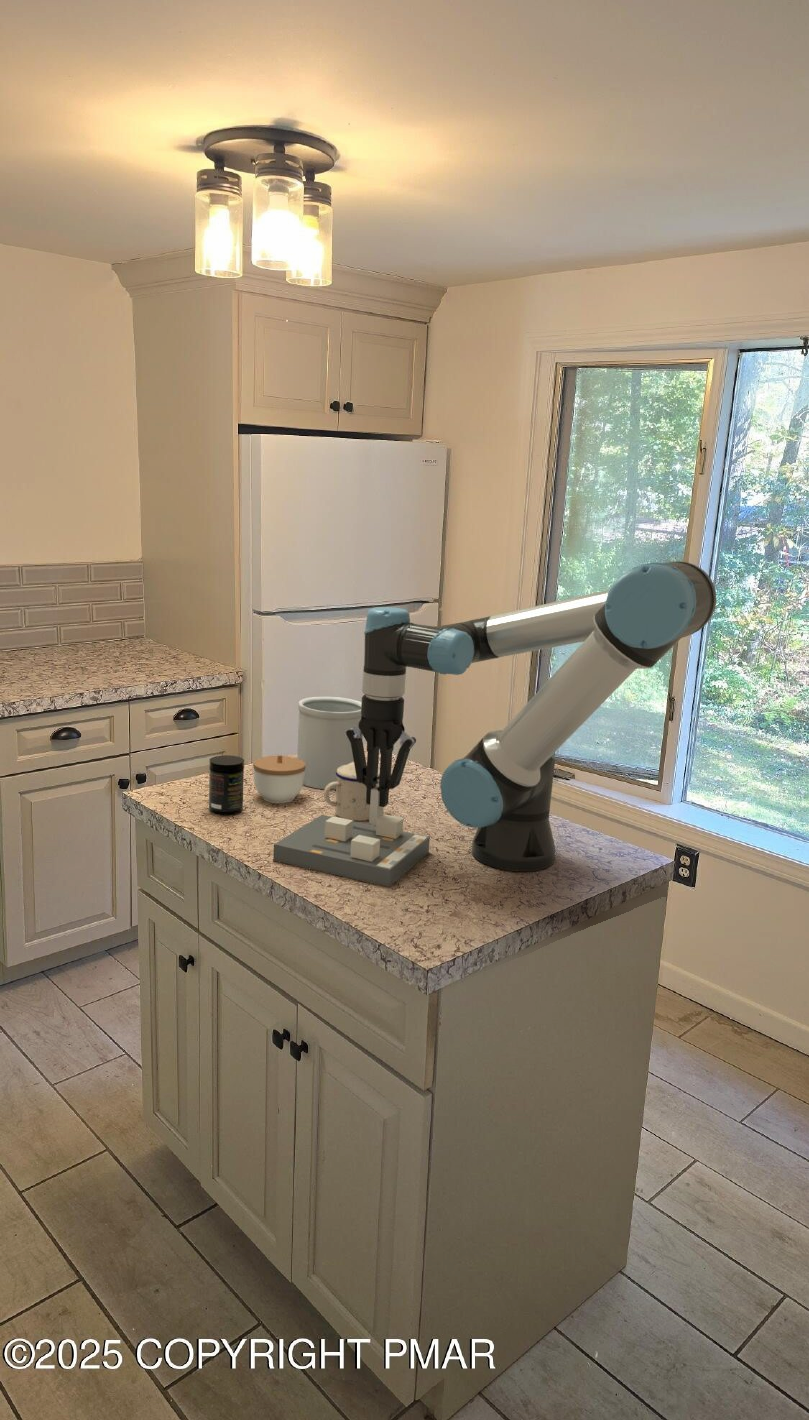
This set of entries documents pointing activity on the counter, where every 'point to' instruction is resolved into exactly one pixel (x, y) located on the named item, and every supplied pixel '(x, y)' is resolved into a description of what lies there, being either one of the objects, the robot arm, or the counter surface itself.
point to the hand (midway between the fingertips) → (375, 822)
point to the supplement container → (226, 784)
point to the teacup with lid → (349, 795)
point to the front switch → (365, 848)
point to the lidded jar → (279, 778)
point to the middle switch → (338, 828)
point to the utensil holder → (325, 737)
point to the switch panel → (334, 855)
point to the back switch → (389, 826)
